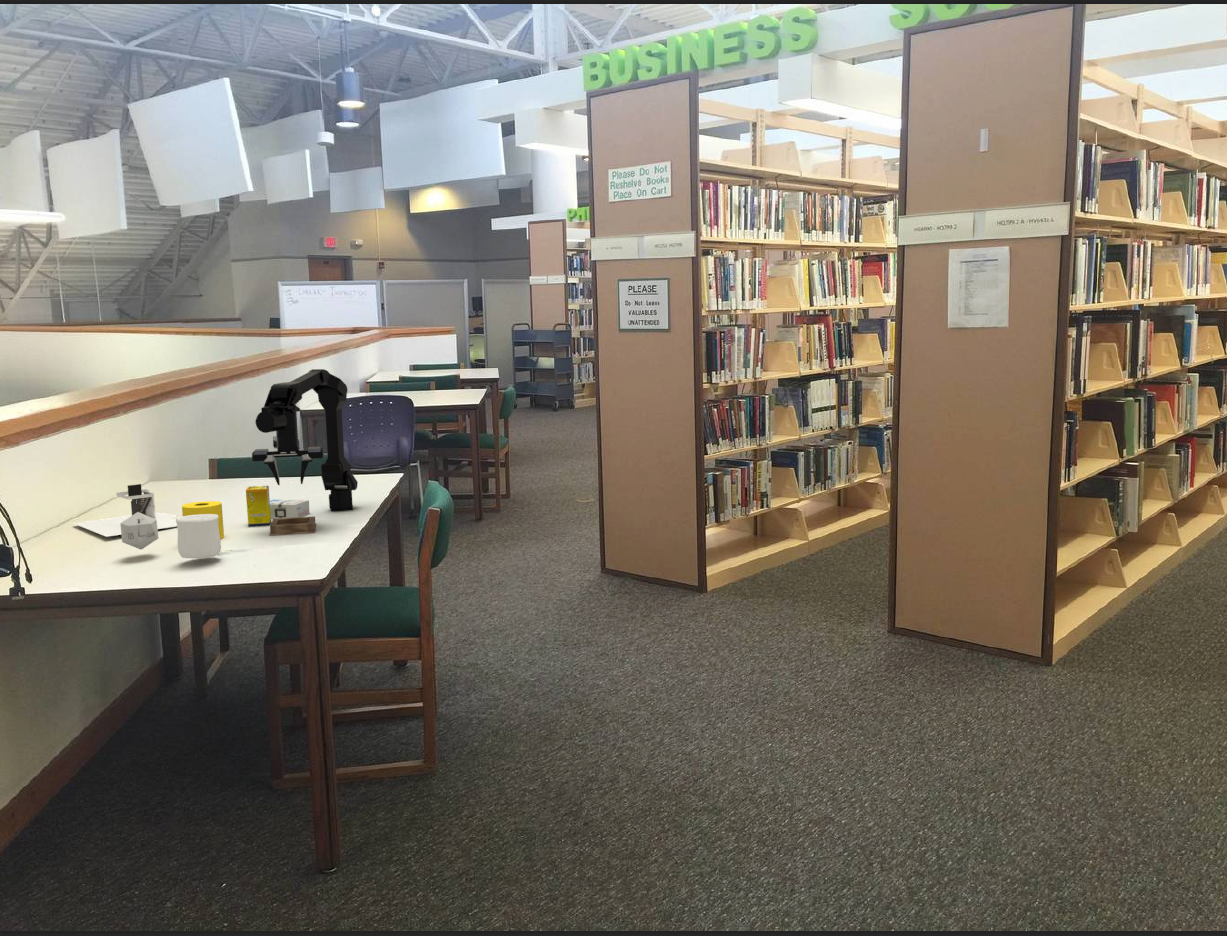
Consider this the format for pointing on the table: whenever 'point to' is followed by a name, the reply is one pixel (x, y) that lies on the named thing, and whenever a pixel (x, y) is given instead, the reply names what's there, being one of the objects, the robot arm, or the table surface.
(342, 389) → the robot arm
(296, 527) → the base
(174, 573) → the table surface
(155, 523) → the die
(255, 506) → the supplement box
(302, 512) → the ink box
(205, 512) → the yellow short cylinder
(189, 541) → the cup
